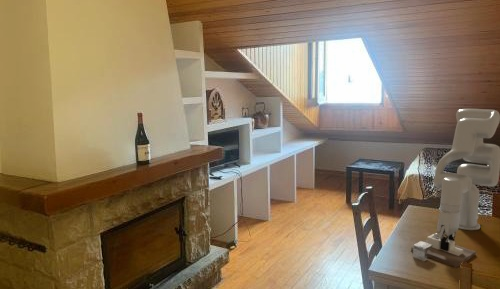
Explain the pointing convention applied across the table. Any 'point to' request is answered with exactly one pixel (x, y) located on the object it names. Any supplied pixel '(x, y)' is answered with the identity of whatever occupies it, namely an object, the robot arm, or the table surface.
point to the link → (437, 243)
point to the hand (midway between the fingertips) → (447, 247)
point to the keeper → (421, 250)
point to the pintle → (436, 236)
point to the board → (450, 256)
